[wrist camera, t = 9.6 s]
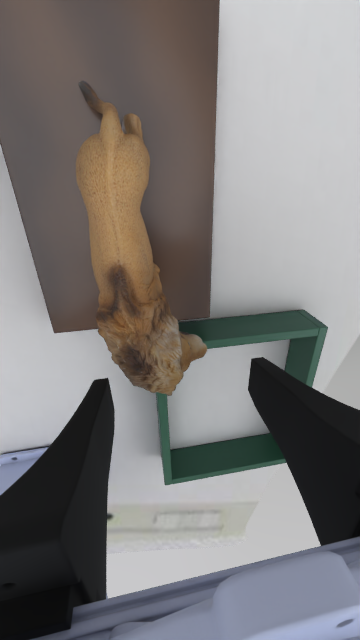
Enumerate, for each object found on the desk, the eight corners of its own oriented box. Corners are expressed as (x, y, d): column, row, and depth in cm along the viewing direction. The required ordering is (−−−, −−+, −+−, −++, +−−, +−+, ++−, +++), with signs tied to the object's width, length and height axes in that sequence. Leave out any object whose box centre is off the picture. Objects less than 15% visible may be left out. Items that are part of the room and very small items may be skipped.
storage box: (161, 456, 31) (164, 485, 28) (149, 325, 23) (153, 347, 20) (277, 436, 33) (292, 461, 30) (304, 309, 25) (328, 326, 22)
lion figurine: (187, 314, 21) (223, 393, 13) (122, 333, 21) (119, 425, 13) (129, 74, 14) (132, -71, 6) (29, 98, 14) (-106, -20, 6)
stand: (60, 321, 21) (53, 333, 20) (-25, 1, 13) (-49, -28, 11) (203, 307, 23) (209, 317, 21) (209, 15, 15) (220, -7, 13)
